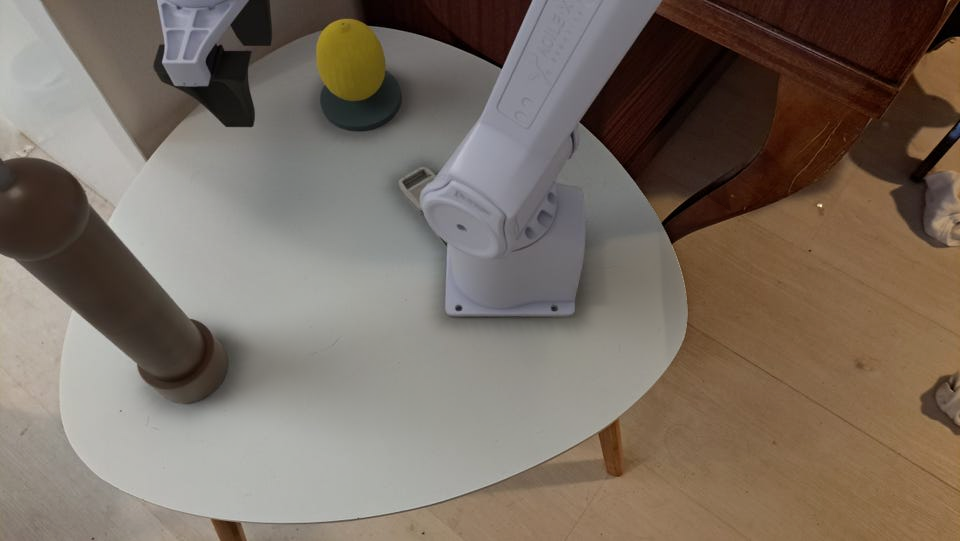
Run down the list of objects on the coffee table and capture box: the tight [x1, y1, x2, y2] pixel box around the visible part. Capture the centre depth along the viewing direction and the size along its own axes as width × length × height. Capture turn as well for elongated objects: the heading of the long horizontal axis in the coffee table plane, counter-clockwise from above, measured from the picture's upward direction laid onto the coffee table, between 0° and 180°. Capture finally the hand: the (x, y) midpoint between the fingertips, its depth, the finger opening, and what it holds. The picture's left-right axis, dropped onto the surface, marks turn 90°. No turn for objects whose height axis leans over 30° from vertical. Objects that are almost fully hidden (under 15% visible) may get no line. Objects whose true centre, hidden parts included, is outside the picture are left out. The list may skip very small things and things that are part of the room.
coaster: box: [319, 70, 402, 132], centre depth 63 cm, size 7×7×1 cm
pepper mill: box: [0, 156, 229, 404], centre depth 41 cm, size 5×5×24 cm
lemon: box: [315, 18, 387, 101], centre depth 59 cm, size 6×6×8 cm
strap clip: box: [398, 166, 447, 250], centre depth 56 cm, size 8×3×4 cm, turn 36°
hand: (249, 81), depth 52 cm, fingers open, 7 cm apart
